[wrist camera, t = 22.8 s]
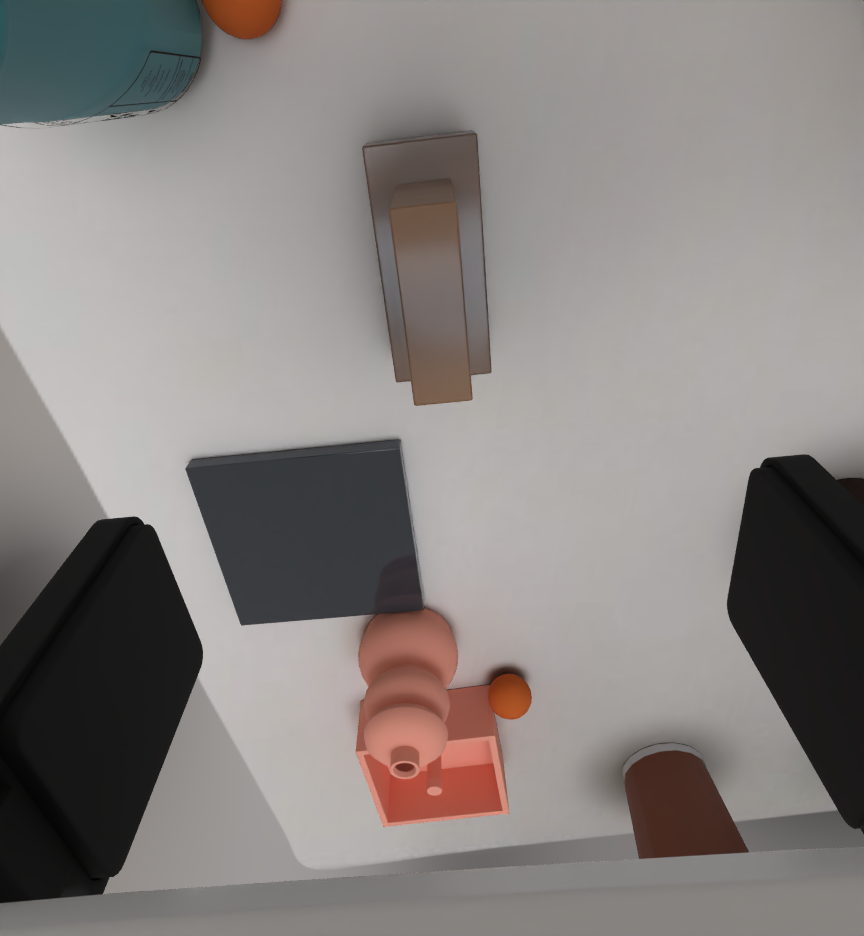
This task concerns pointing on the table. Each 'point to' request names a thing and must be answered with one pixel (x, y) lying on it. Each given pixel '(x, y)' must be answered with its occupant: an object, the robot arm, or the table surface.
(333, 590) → the slate tile
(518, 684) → the felt ball
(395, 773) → the pottery
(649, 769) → the coffee cup
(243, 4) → the felt ball
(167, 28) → the beverage bottle
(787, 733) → the table surface
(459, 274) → the brush
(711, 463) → the table surface
